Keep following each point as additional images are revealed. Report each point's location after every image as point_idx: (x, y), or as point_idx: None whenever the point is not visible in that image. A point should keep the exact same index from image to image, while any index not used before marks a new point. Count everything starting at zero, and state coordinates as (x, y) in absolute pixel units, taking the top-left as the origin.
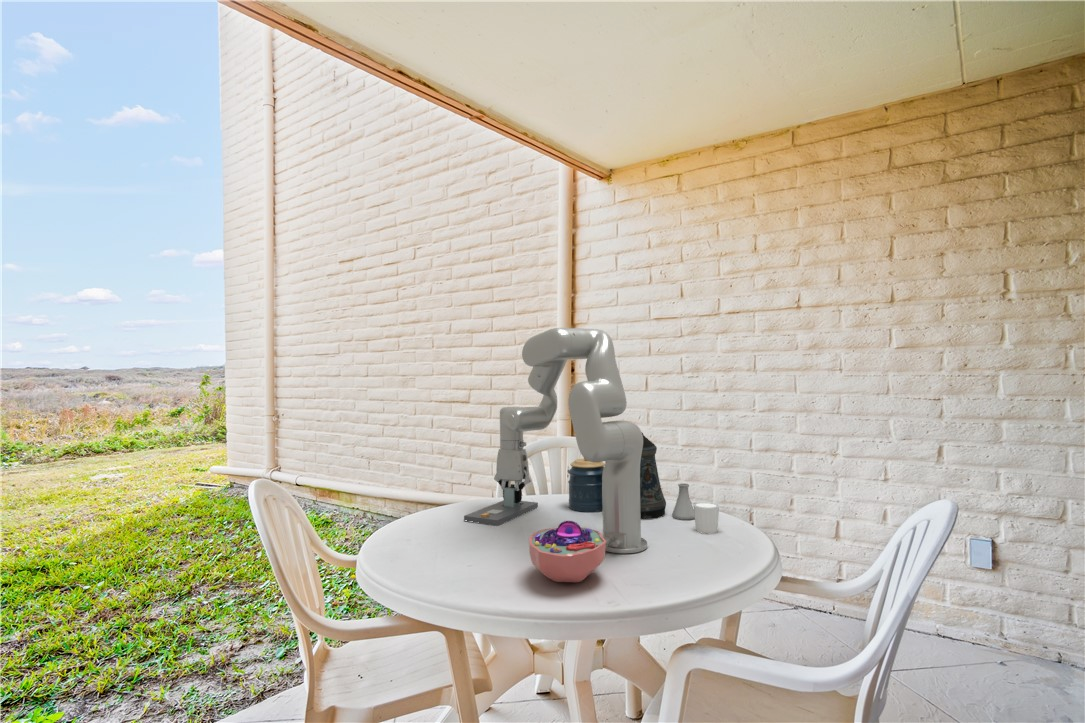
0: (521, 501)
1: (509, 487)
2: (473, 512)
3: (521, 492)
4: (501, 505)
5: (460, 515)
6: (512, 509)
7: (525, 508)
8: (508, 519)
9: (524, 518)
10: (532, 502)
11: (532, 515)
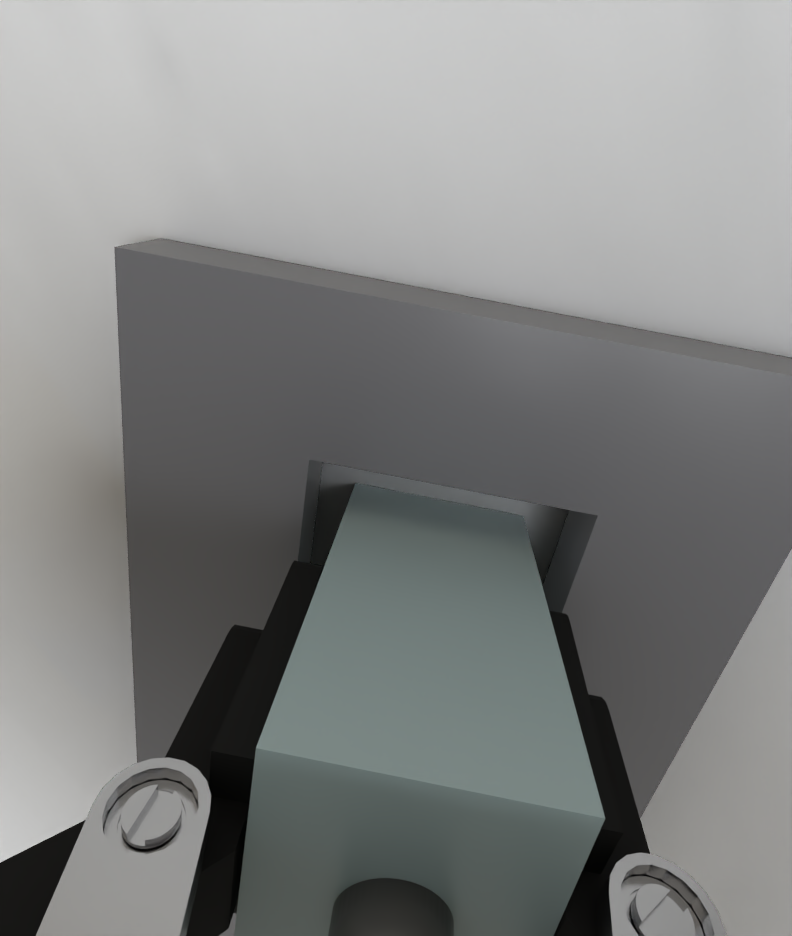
0: (498, 382)
1: (307, 921)
2: None
3: (637, 825)
4: None
5: (13, 825)
6: None
7: (679, 738)
8: None
9: (688, 848)
10: (752, 407)
11: (770, 753)
